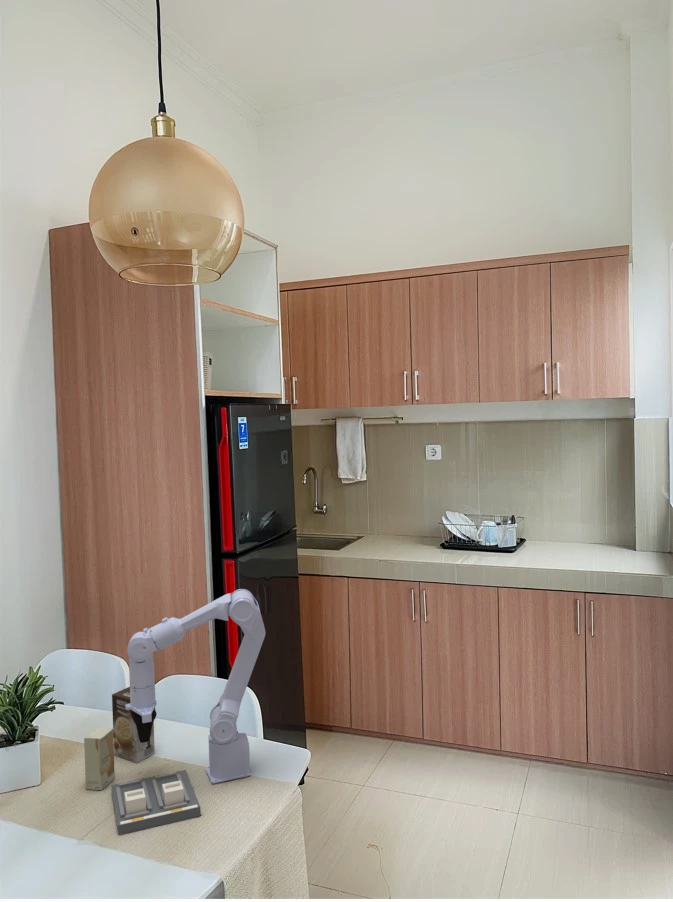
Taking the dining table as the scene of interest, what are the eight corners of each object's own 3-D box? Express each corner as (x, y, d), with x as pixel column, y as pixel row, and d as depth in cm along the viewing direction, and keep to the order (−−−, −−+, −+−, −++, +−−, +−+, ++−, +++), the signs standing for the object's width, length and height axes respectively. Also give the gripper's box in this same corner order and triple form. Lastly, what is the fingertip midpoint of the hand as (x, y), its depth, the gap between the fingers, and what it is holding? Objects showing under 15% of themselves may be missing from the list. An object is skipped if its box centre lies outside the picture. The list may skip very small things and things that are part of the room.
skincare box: (102, 791, 164) (99, 739, 163) (85, 789, 165) (82, 738, 164) (116, 777, 170) (113, 727, 170) (99, 776, 171) (97, 726, 170)
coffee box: (112, 755, 182) (110, 694, 181) (131, 745, 187) (129, 685, 186) (137, 763, 177) (134, 700, 176) (156, 753, 182) (154, 692, 181)
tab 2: (180, 793, 157) (180, 777, 157) (184, 802, 154) (183, 786, 153) (162, 797, 156) (162, 781, 156) (165, 806, 152) (164, 790, 152)
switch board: (185, 777, 169) (185, 767, 169) (200, 815, 152) (200, 804, 152) (111, 793, 163) (111, 782, 162) (118, 835, 146) (117, 822, 146)
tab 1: (143, 801, 154) (143, 785, 154) (146, 810, 151) (145, 794, 150) (124, 805, 153) (124, 789, 153) (126, 815, 149) (126, 798, 149)
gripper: (121, 677, 172) (124, 732, 172) (127, 698, 158) (130, 757, 159) (151, 672, 174) (153, 726, 175) (159, 692, 161) (162, 751, 161)
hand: (144, 741), depth 167 cm, fingers closed
